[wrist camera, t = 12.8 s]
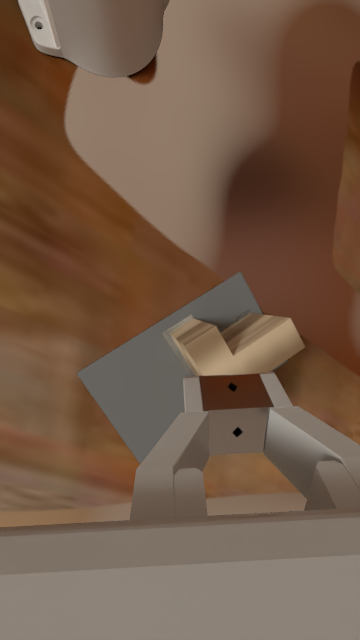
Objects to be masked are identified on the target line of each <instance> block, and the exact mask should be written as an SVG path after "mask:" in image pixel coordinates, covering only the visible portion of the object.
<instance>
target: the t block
mask: <svg viewBox="0 0 360 640" xmlns="http://www.w3.org/2000/svg"><path fill="white" fill-rule="evenodd" d="M170 335H171V337H172V338H173V340H174V342H175V343H176V345H177V347H178V348H179V350H180V351H181V353H182V355H183V356H184V358H185V360H186V361H187V363H188V365H189V366H190V368H191V370H192V371H193V373H194V374H195V376H198V377H199V376H210V375H238V374H255V373H262V372H270V371H271V370H273V369H274V368H276V367H277V366H279V365H280V364H281V363H283V362H284V361H286V360H287V359H289V358H290V357H292V356H293V355H295V354H296V353H297V352H299V351H300V350H302V349H303V348H305V345H304V344H303V342H302V340H301V338H300V336H299V334H298V332H297V330H296V328H295V326H294V324H293V322H292V320H291V319H290V318H286V317H278V316H271V315H264V314H256V313H250V314H248V315H247V316H245V317H244V318H242V319H241V320H239V321H238V322H236V323H234V324H233V325H231V326H230V327H228V328H227V329H225V330H224V331H222V332H221V333H220V332H219V330H218V328H217V327H216V326H215V325H212V324H209V323H206V322H203V321H200V320H197V319H194V318H193V319H191V320H190V321H188V322H186V323H185V324H183V325H182V326H180V327H178V328H177V329H175V330H174V331H172V332H171V333H170Z"/></svg>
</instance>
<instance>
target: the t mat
mask: <svg viewBox="0 0 360 640" xmlns="http://www.w3.org/2000/svg"><path fill="white" fill-rule="evenodd" d="M250 313H256V314H263V313H262V311H261V309H260V307H259V305H258V304H257V302H256V300H255V298H254V296H253V294H252V292H251V290H250V288H249V287H248V285H247V283H246V281H245V279H244V277H243V275H242V273H241V272H239V273H237V274H235V275H234V276H232V277H231V278H229V279H227V280H226V281H224V282H222V283H221V284H219V285H218V286H216V287H214V288H213V289H211V290H210V291H208V292H206V293H205V294H203V295H202V296H200V297H198V298H197V299H195V300H193V301H192V302H190V303H189V304H187V305H185V306H184V307H182V308H181V309H179V310H177V311H176V312H174V313H173V314H171V315H169V316H168V317H166V318H165V319H163V320H161V321H160V322H158V323H156V324H155V325H153V326H152V327H150V328H148V329H147V330H145V331H144V332H142V333H140V334H139V335H137V336H136V337H134V338H132V339H131V340H129V341H127V342H126V343H124V344H123V345H121V346H119V347H118V348H116V349H115V350H113V351H111V352H110V353H108V354H107V355H105V356H103V357H102V358H100V359H98V360H97V361H95V362H94V363H92V364H90V365H89V366H87V367H86V368H84V369H82V370H81V371H79V372H78V373H77V375H78V376H79V378H80V379H81V380H82V382H83V383H84V385H85V386H86V388H87V389H88V390H89V392H90V393H91V395H92V396H93V397H94V399H95V400H96V402H97V403H98V405H99V406H100V407H101V409H102V410H103V412H104V413H105V415H106V416H107V417H108V419H109V420H110V422H111V423H112V425H113V426H114V427H115V429H116V430H117V432H118V433H119V434H120V436H121V437H122V439H123V440H124V442H125V443H126V444H127V446H128V447H129V449H130V450H131V452H132V453H133V454H134V456H135V457H136V459H137V460H138V462H139V463H141V462H143V460H144V459H145V458H146V456H147V455H148V454H149V453H150V451H151V450H152V449H153V447H154V446H155V445H156V444H157V442H158V441H159V440H160V438H161V437H162V436H163V434H164V433H165V432H166V431H167V429H168V428H169V427H170V425H171V424H172V423H173V422H174V420H175V419H176V418H177V416H178V415H179V414H180V413H182V412H185V407H184V387H183V377H186V376H195V374H194V373H193V371H192V370H191V368H190V366H189V365H188V363H187V361H186V360H185V358H184V356H183V355H182V353H181V351H180V350H179V348H178V347H177V345H176V343H175V342H174V340H173V338H172V337H171V335H170V333H171V332H172V331H174V330H175V329H177V328H178V327H180V326H182V325H183V324H185V323H186V322H188V321H190V320H191V319H193V318H194V319H197V320H200V321H203V322H206V323H209V324H212V325H215V326H216V327H217V328H218V330H219V332H220V333H221V332H222V331H224V330H225V329H227V328H228V327H230V326H231V325H233V324H234V323H236V322H238V321H239V320H241V319H242V318H244V317H245V316H247V315H248V314H250ZM287 361H288V360H286V361H284V362H283V363H281V364H280V365H279V366H277V367H276V368H274V369H273V370H271V371H270V372H273V371H274V370H276V369H277V368H279V367H280V366H282V365H283V364H285V363H286V362H287Z"/></svg>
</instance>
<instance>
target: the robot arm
mask: <svg viewBox="0 0 360 640" xmlns="http://www.w3.org/2000/svg"><path fill="white" fill-rule="evenodd" d="M17 1H18V3H19V6H20V9H21V11H22V14H23V16H24V19H25V22H26V24H27V27H28V30H29V32H30V35H31V37H32V40H33V43H34V45H35V47H36V48H37V49H38V50H39V51H41V52H43V53H45V54H48V55H52V56H57V57H63V58H65V59H67V60H69V61H71V62H73V63H74V64H76V65H77V66H79V67H81V68H82V69H84V70H86V71H88V72H91V73H93V74H96V75H100V76H104V77H124V76H128V75H131V74H134V73H136V72H138V71H140V70H141V69H143V68H144V67H145V66H146V65H147V64H149V62H150V61H151V60H152V59H153V57H154V56H155V54H156V52H157V50H158V48H159V45H160V42H161V38H162V31H163V14H164V11H165V9H166V7H167V5H168V3H169V0H17ZM38 27H41V28H42V29H40V30H39V29H37V28H38ZM183 387H184V407H185V412H182V413H180V414H179V415H178V416H177V418H176V419H175V420H174V422H173V423H172V424H171V425H170V427H169V428H168V429H167V431H166V432H165V433H164V434H163V436H162V437H161V438H160V440H159V441H158V442H157V444H156V445H155V446H154V447H153V449H152V450H151V451H150V453H149V454H148V455H147V456H146V458H145V459H144V460H143V462H142V463H141V464H140V465H139V467H138V468H137V469H136V476H135V484H134V492H133V499H132V507H131V515H130V520H125V521H108V522H89V523H72V524H56V525H55V524H54V525H36V526H20V527H19V526H18V527H1V528H0V640H360V445H359V444H357V443H356V442H354V441H353V440H351V439H349V438H348V437H346V436H345V435H343V434H341V433H340V432H338V431H337V430H335V429H333V428H332V427H330V426H329V425H327V424H326V423H324V422H322V421H321V420H319V419H318V418H316V417H314V416H313V415H311V414H310V413H308V412H306V411H305V410H303V409H302V408H300V407H298V406H293V405H292V403H291V401H290V400H289V398H288V396H287V394H286V392H285V390H284V389H283V387H282V385H281V383H280V381H279V380H278V378H277V376H276V374H275V373H274V372H262V373H255V374H238V375H210V376H199V377H198V376H186V377H183ZM234 453H264V455H265V456H266V457H267V458H268V459H269V460H270V461H271V462H272V463H273V464H274V465H275V466H276V467H277V468H278V469H279V470H280V471H281V472H282V474H283V475H284V476H285V477H286V478H287V479H288V480H289V481H290V482H291V483H292V484H293V485H294V486H295V487H296V488H297V489H298V490H299V491H300V492H301V493H302V494H303V495H304V497H306V499H307V502H306V506H305V509H304V511H289V512H270V513H254V514H234V515H216V516H208V515H207V508H206V498H205V490H204V481H203V470H204V467H205V465H206V463H207V461H208V459H209V456H210V455H222V454H234Z"/></svg>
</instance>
